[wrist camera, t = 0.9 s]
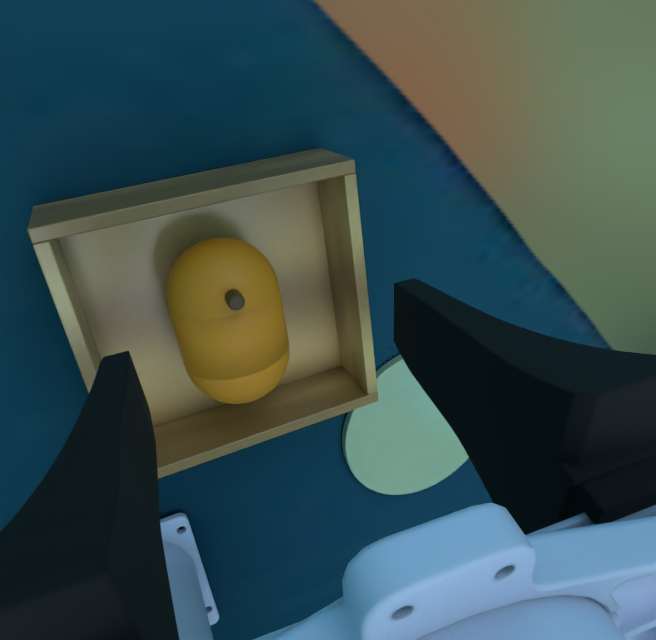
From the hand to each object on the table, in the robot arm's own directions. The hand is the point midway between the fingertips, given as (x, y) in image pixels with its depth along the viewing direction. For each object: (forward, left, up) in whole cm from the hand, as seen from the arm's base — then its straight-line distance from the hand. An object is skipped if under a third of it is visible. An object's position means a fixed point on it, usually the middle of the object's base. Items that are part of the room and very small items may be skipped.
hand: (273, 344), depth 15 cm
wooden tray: (-4, -1, -14) cm, 14 cm away
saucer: (-16, -12, -14) cm, 24 cm away
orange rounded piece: (-4, -1, -13) cm, 14 cm away
